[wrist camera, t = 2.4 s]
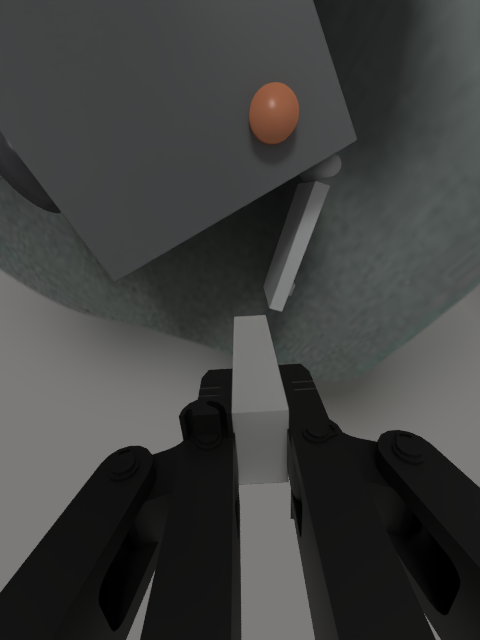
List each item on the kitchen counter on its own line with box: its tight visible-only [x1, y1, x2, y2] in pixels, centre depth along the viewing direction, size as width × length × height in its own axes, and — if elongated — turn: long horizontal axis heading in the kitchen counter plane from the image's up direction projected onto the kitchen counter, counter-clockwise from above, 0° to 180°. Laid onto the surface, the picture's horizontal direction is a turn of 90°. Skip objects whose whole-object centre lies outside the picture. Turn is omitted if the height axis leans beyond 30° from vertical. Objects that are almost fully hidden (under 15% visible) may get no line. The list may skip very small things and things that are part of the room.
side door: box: [263, 181, 330, 312], centre depth 22 cm, size 9×2×6 cm, turn 164°
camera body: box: [0, 0, 357, 282], centre depth 18 cm, size 15×19×10 cm
